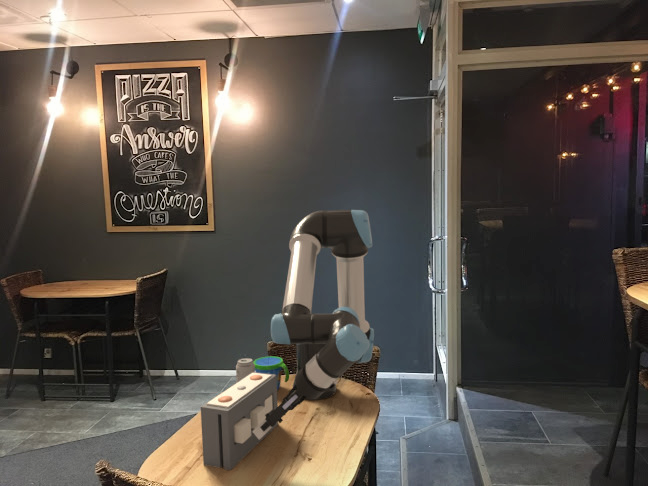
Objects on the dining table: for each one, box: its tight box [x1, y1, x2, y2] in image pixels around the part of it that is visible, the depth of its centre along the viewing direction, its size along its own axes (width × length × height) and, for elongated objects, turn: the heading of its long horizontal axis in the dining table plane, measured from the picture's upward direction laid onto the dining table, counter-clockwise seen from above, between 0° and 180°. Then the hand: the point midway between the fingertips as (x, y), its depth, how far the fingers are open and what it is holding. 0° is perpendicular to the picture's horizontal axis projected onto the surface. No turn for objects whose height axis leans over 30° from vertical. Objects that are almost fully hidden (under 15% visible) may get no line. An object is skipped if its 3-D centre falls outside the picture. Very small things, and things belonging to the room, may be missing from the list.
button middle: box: [250, 406, 266, 429], centre depth 131 cm, size 3×4×4 cm, turn 158°
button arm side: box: [264, 395, 273, 414], centre depth 139 cm, size 3×4×4 cm, turn 158°
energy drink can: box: [235, 357, 255, 383], centre depth 158 cm, size 6×6×15 cm
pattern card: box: [206, 373, 272, 408], centre depth 132 cm, size 6×23×1 cm, turn 158°
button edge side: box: [234, 418, 251, 444], centre depth 123 cm, size 3×4×4 cm, turn 158°
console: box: [200, 372, 279, 471], centre depth 133 cm, size 8×26×15 cm, turn 158°
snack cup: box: [253, 355, 290, 390], centre depth 171 cm, size 16×10×10 cm
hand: (257, 434), depth 122 cm, fingers closed
